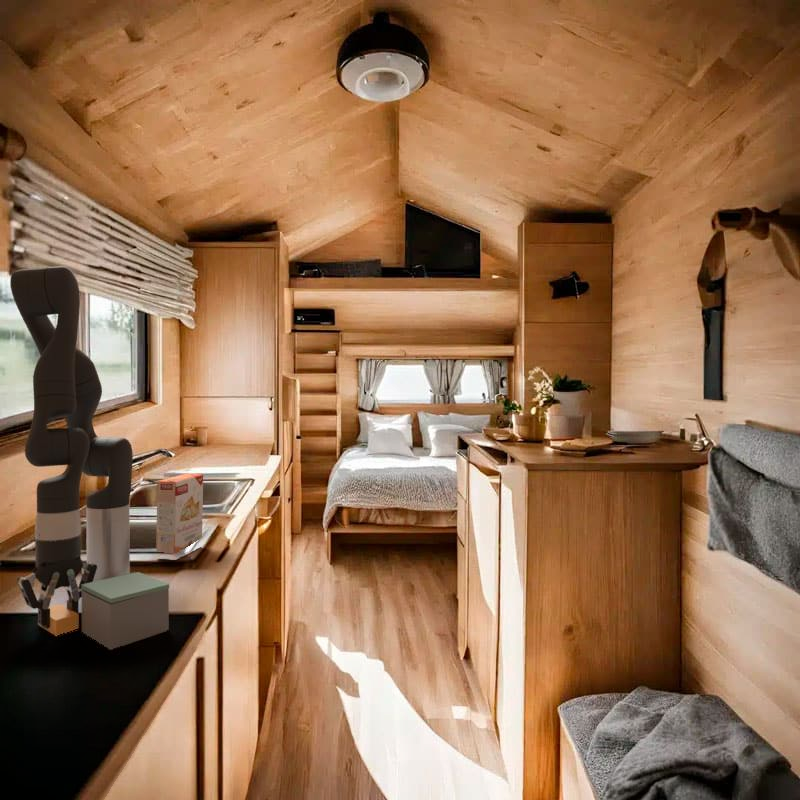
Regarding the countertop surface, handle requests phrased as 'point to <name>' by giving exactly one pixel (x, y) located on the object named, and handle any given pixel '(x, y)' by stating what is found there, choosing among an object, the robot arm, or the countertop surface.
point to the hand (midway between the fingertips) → (58, 623)
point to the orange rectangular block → (62, 620)
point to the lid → (124, 587)
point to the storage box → (125, 618)
